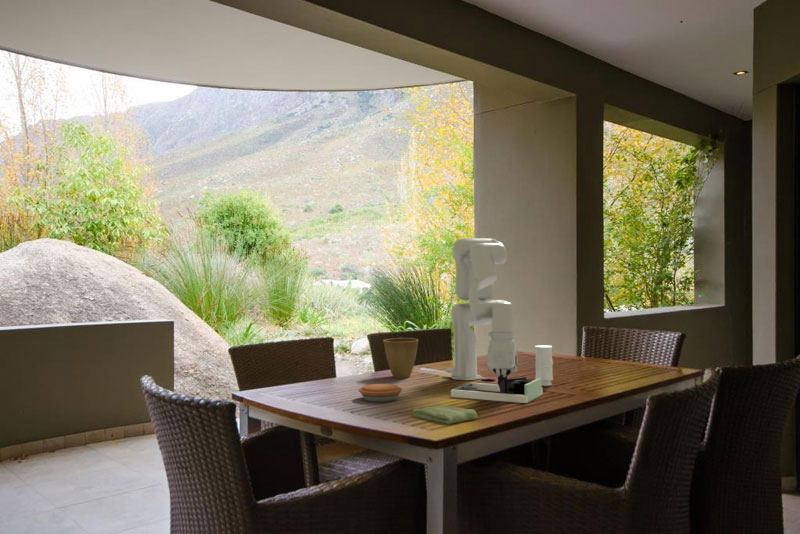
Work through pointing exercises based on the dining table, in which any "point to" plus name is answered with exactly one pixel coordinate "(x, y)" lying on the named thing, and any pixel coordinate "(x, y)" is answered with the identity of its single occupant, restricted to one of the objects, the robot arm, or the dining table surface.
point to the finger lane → (471, 392)
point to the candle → (544, 364)
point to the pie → (380, 392)
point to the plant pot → (401, 355)
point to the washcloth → (445, 414)
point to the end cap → (514, 386)
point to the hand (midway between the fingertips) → (502, 387)
